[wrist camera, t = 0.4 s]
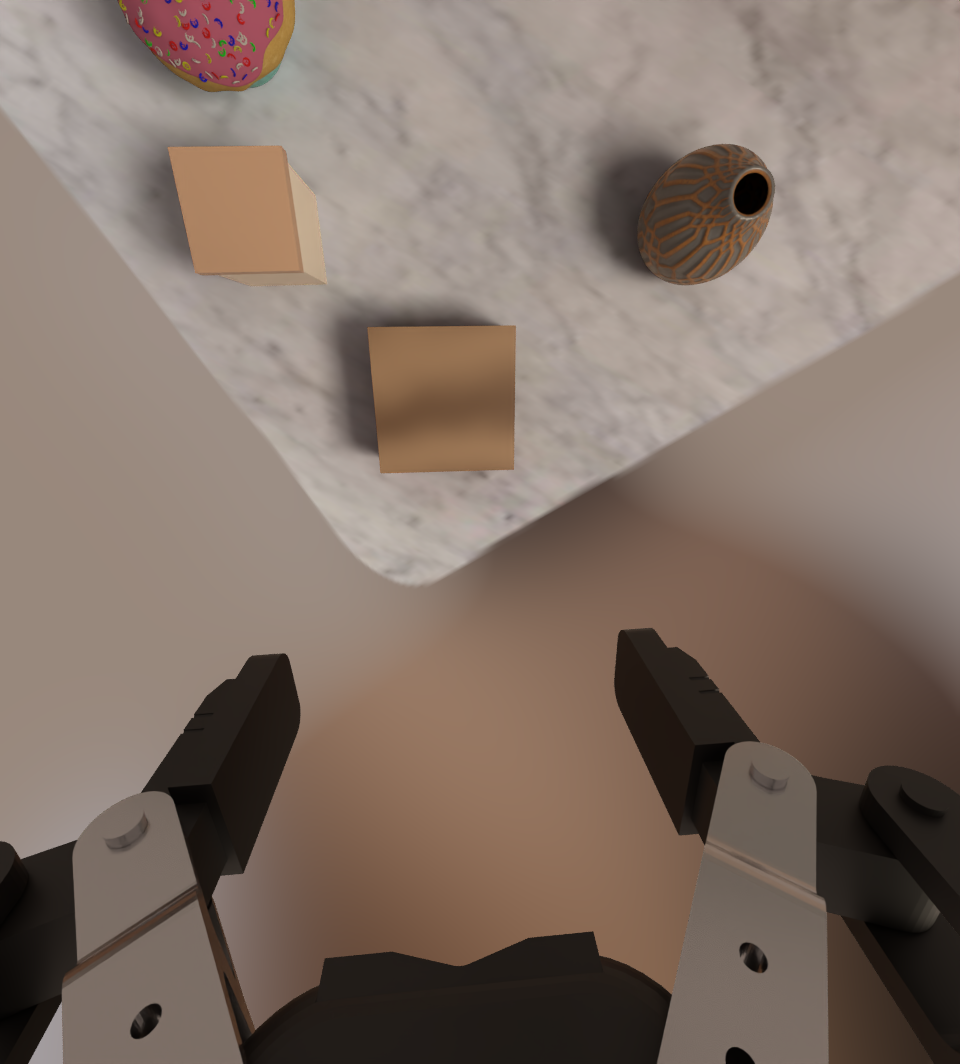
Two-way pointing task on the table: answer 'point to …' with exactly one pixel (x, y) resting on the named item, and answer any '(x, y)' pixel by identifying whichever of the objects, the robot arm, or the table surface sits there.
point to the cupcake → (215, 38)
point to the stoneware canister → (248, 215)
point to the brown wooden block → (444, 397)
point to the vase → (705, 214)
